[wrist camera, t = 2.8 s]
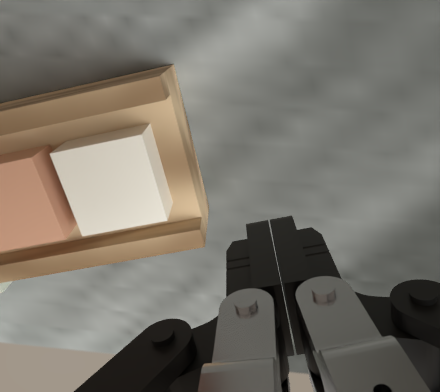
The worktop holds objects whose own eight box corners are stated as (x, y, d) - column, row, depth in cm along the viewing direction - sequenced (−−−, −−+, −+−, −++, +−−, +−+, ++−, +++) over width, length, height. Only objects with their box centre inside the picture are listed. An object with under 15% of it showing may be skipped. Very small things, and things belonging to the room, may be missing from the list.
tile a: (66, 141, 23) (49, 153, 21) (150, 123, 23) (141, 134, 21) (95, 217, 25) (82, 236, 23) (172, 202, 25) (167, 220, 23)
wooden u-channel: (-46, 113, 27) (-111, 136, 22) (173, 64, 25) (159, 76, 20) (15, 242, 31) (-28, 287, 26) (208, 206, 29) (204, 247, 24)
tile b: (-30, 161, 24) (-56, 175, 22) (50, 144, 23) (31, 157, 21) (5, 234, 26) (-16, 254, 24) (79, 220, 25) (65, 239, 23)
